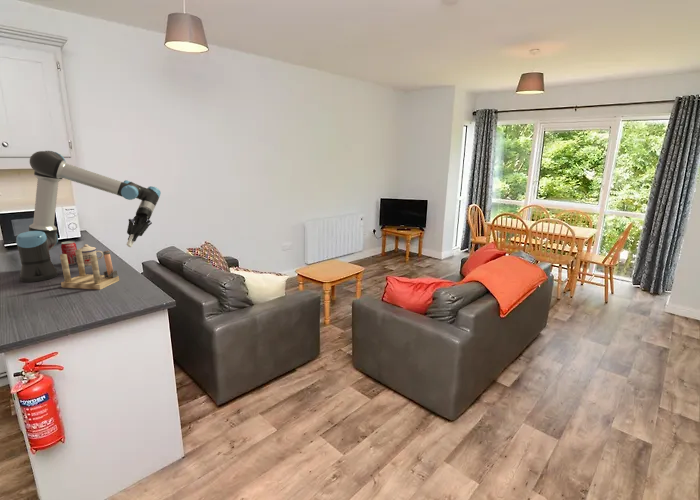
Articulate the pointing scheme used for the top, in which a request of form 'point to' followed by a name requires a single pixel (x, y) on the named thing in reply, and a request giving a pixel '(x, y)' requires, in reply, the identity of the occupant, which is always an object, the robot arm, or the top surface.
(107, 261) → the folding leg
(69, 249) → the soda can
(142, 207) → the robot arm
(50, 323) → the top surface
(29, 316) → the top surface
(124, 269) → the top surface
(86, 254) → the teacup with lid
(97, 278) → the stool
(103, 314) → the top surface
